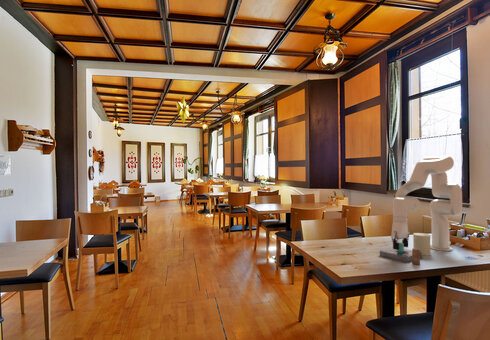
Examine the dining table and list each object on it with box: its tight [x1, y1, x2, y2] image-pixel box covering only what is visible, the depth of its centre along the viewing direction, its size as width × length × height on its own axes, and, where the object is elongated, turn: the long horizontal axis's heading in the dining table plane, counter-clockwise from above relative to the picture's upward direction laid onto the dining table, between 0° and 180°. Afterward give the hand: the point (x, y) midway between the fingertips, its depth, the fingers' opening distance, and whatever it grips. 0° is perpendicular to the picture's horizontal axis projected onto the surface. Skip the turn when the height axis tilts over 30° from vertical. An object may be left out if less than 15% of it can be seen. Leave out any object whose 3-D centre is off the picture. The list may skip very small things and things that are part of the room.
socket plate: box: [379, 246, 423, 264], centre depth 170 cm, size 16×16×3 cm
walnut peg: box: [411, 247, 421, 266], centre depth 156 cm, size 4×4×8 cm
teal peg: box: [397, 241, 405, 253], centre depth 170 cm, size 4×4×8 cm
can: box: [412, 232, 432, 256], centre depth 177 cm, size 9×9×12 cm
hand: (400, 248), depth 170 cm, fingers open, 9 cm apart
